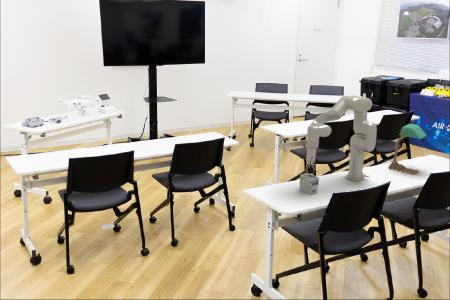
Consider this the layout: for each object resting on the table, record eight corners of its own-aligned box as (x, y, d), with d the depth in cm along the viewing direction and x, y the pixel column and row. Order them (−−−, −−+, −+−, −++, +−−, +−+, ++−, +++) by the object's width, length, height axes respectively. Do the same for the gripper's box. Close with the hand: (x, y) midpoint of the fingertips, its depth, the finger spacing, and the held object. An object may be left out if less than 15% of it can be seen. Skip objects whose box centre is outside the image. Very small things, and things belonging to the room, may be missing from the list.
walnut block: (313, 171, 291) (314, 164, 290) (314, 174, 286) (314, 166, 285) (305, 171, 292) (306, 163, 290) (306, 173, 287) (306, 166, 285)
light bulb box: (318, 192, 291) (319, 176, 288) (311, 194, 286) (312, 179, 283) (305, 187, 298) (306, 172, 295) (298, 189, 294) (299, 174, 291)
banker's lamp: (393, 165, 351) (400, 121, 341) (421, 171, 338) (428, 126, 328) (386, 170, 339) (392, 124, 329) (414, 176, 326) (421, 129, 316)
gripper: (305, 140, 292) (303, 167, 297) (307, 148, 276) (304, 176, 281) (317, 141, 291) (315, 168, 296) (319, 148, 275) (316, 176, 280)
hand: (310, 171), depth 289 cm, fingers closed on walnut block, 4 cm apart
